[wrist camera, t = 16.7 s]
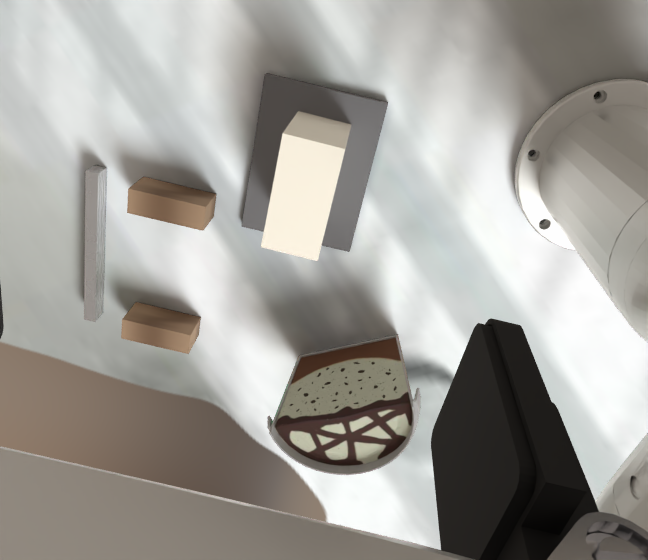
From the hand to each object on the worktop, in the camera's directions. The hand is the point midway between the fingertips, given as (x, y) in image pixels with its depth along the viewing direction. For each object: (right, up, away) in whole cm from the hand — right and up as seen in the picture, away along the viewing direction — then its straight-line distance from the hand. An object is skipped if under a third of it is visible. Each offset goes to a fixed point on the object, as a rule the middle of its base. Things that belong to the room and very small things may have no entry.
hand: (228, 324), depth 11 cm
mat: (+1, +10, +33) cm, 34 cm away
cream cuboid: (+1, +9, +32) cm, 33 cm away
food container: (+5, -8, +41) cm, 42 cm away
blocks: (-13, +3, +38) cm, 40 cm away
